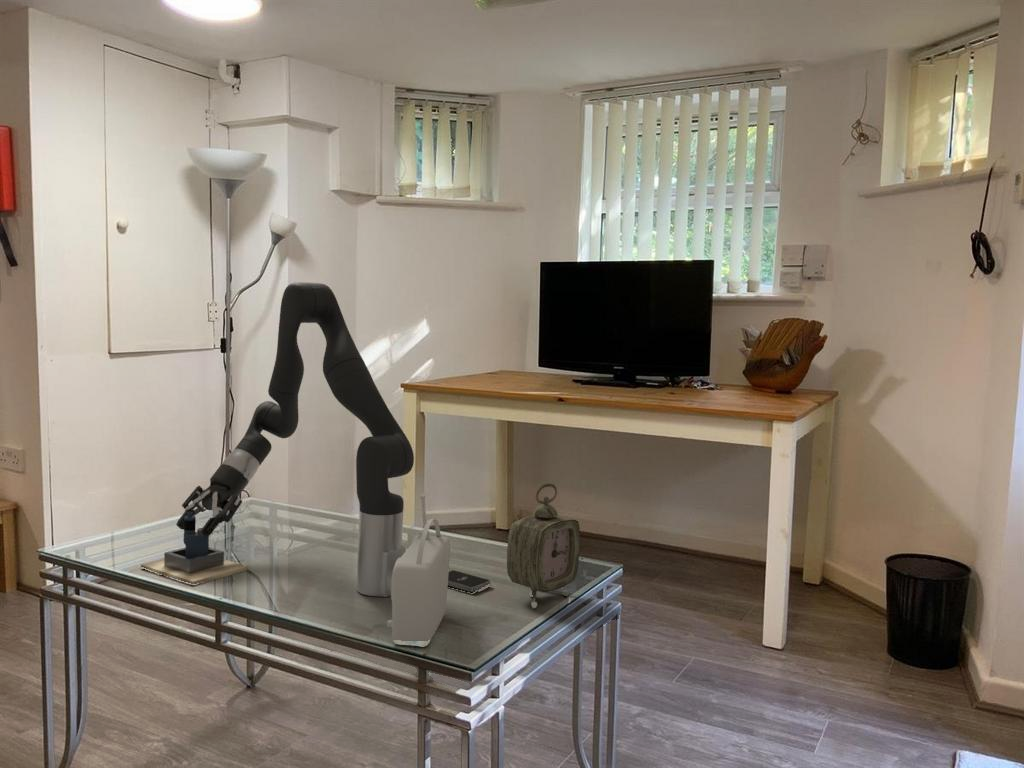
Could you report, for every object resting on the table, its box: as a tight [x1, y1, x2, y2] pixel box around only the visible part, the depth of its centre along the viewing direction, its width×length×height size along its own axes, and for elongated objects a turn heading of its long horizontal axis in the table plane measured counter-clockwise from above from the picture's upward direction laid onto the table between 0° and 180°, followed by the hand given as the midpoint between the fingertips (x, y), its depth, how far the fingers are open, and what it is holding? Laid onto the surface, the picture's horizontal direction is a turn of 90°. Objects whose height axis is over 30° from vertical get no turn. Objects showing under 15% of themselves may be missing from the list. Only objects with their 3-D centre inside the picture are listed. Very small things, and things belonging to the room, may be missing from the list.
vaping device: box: [183, 512, 210, 558], centre depth 177 cm, size 3×5×12 cm, turn 113°
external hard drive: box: [448, 569, 491, 593], centre depth 175 cm, size 7×11×2 cm, turn 55°
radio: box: [386, 493, 451, 641], centre depth 148 cm, size 22×8×25 cm, turn 175°
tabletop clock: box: [506, 482, 581, 600], centre depth 168 cm, size 14×9×25 cm, turn 139°
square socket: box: [163, 547, 225, 574], centre depth 177 cm, size 9×9×3 cm
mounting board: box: [140, 558, 248, 584], centre depth 177 cm, size 18×14×1 cm
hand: (191, 530), depth 176 cm, fingers open, 8 cm apart
